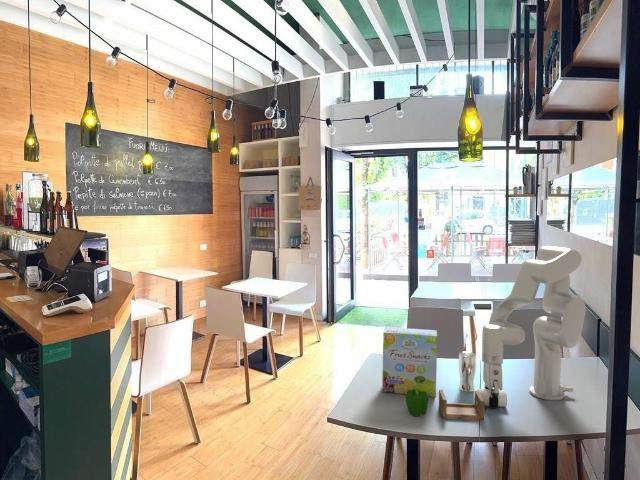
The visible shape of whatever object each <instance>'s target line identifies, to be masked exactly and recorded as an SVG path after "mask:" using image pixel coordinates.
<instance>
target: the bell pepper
mask: <svg viewBox="0 0 640 480" xmlns="http://www.w3.org/2000/svg"><path fill="white" fill-rule="evenodd" d="M413 387H415V389H414V390H408V392H407V394H405V404H406V408H407V411H408V412H409V414H410V415H411V416H412V417H413V416H414V417H419V416H424V415H425V414H426V413H427V411H428V407H429V403H430V402H429V400H430V399H429V396H428V395H427V393H426V392H424V391H422V392H421V391H420V390H418V388H417V386H416V385H413Z"/></svg>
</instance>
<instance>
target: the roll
mask: <svg viewBox="0 0 640 480" xmlns="http://www.w3.org/2000/svg"><path fill="white" fill-rule="evenodd" d="M475 391H479V393H480V395H481V396H482V398H483V400H484V401H485V407H489V397H490V390H488V389H485V388H484V389H483V388H479V389H478V388H476V390H475ZM493 392H494V391H492V394H493ZM507 405H508V395H507V392H506V390H505V389H502V390H499V398H498V407H503V408H506V407H507Z"/></svg>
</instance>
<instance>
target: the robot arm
mask: <svg viewBox="0 0 640 480" xmlns="http://www.w3.org/2000/svg"><path fill="white" fill-rule="evenodd" d="M536 257H537V258H536V259H527V260H524V261H523V262H522V263H521V265H520V267H519V269H518V270H519V271H518V273H517V275H516V279H515V280H514V283H513V286H512V288H511V291H510V293H509V295H508V296H506V297H505V298H504V299H502V301H500V303H498V305H497V306H495V308H494V310H493V312H492V314H491V318H490V320H489V323H488V324H485V325H484V326H482V336H481V339H482V340H481V361H482V363H483V367H482V369H483V371H482V380H483V382H484V389H488V390H490V397H489V406H488V408H492V409H493V408H494V409H498V408H499V406H498V398H499V390H503V369H502V368H503V367H502V364H503V363H504V345H506V346H508V345H509V346H517V345H518V346H519V345H520V344H522V343H523V342H524V341H525V339H526V337H527V335H526V331H525V330H524V328H522V327H521V326H519V325H518V324H513V323H511V322H508V321H507V320H508V317H509V316H510V315H511V313H513V311H514V310H516V309H519V308H522V307H525V306H528V305H531V304H533V303H534V301H535V298H536V296H537V294H538V290H539V287H540V284H544V285H545V286H544V291H543V296H542V303H541V307H542V309H543V311H544V312H546V313H548V314H551V315H554V316H558V317H560V318H562V320H561V319H559V318H555V317H553V316H552V317H551V316H544V315H543V316H540V317H537V318H536V319H535V320H534V322H533V325H532V334H533V337H534V338H533V339H534V369H533V370H534V371H533V373H534V374H533V385H531V386H530V387H529V388H528V389H529V393H530V394H531V395H532V396H534V397H536V398H538V399H542V400H546V401H552V402H553V401H554V402H555V401H561V400H563V399H564V398H565V392H568V393H573V392H574V388H573V386H568V385H566V384H561V380H562V379H561V378H562V374H561V373H562V372H561V371H562V349H561V347H563V348H566V349H571V348H575V347H576V346H577V345H578V344H579V342H580V340H581V335H582V332H583V331H582V330H583V326H584V322H585V317H586V309H587V308H586V303H585V301H584V299H583V298H582V297H581V296H579V295H576V294H573V293H570V288H571V276H570V274H572V273H574V272H575V271H576V270H577V269H578V268H579V267H580V266H581V264H582V255H581V253H580V252H579V251H578V250H577V249H574V248H569V247H560V246H552V245H546V246H545V245H544V246H541V247H539V248H538V249H537V253H536ZM492 391H494V392H493V394H492Z"/></svg>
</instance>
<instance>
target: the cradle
mask: <svg viewBox="0 0 640 480" xmlns="http://www.w3.org/2000/svg"><path fill="white" fill-rule="evenodd" d="M485 407H486V406H485V401H484V400H483V398H482V396H481V395H480V393H479V391H476V390H474V403H460V402H459V403H456V402H448V401H447V397H446V395H445V393H444V391H443V389H438V408H439V409H438V410H439V412H440V414H441V417H442V419H444V420H460V421H461V420H466V421H485Z"/></svg>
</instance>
